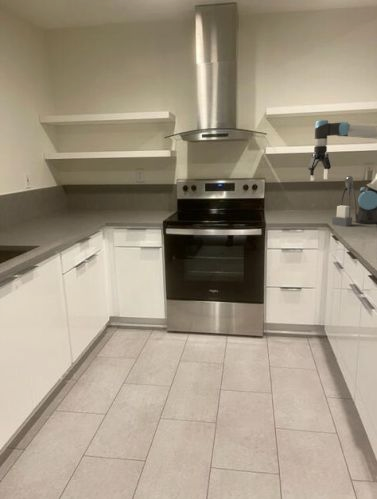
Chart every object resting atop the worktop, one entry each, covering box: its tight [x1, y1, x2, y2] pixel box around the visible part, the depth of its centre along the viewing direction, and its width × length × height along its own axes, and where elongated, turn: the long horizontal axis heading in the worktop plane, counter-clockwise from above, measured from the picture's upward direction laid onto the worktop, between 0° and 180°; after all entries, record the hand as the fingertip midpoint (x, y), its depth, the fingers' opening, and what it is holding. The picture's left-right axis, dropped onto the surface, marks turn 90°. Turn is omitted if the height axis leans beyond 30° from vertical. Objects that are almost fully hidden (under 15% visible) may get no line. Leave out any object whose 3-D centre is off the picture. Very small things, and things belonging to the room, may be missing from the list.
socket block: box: [331, 215, 353, 227], centre depth 245 cm, size 6×10×5 cm, turn 35°
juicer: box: [339, 175, 358, 218], centre depth 257 cm, size 10×11×30 cm
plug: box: [335, 204, 351, 218], centre depth 245 cm, size 4×6×12 cm
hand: (319, 179), depth 246 cm, fingers open, 13 cm apart
